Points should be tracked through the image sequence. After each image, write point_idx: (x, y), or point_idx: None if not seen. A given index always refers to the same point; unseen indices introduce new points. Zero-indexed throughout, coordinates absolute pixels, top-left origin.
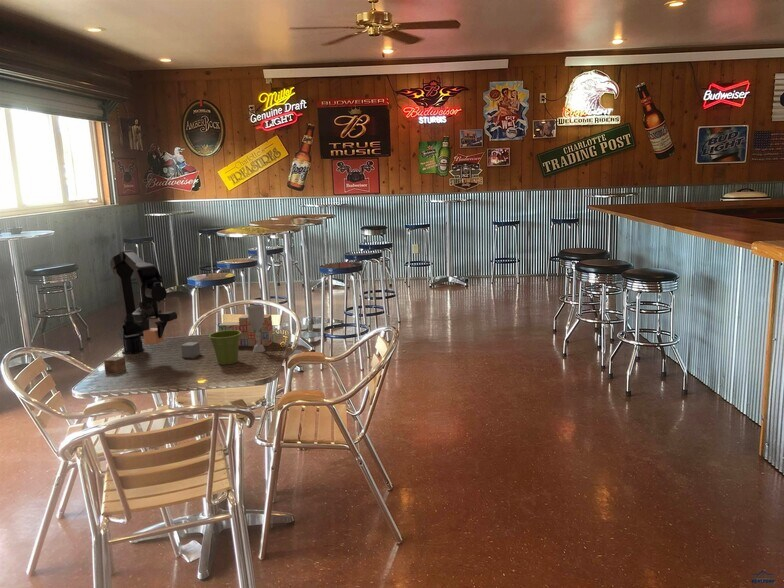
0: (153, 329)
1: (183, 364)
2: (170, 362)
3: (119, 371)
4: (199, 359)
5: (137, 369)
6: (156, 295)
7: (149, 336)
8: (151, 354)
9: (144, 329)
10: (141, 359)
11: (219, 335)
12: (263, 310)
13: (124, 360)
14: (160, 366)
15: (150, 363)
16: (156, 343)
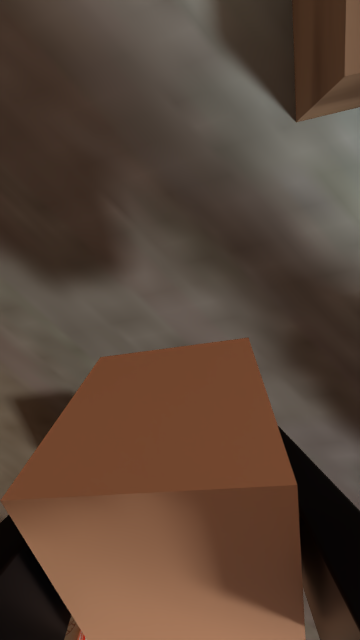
0: (161, 586)
1: (8, 326)
2: (111, 340)
3: (295, 11)
4: (13, 410)
5: (201, 151)
6: None
7: (160, 407)
8: (347, 439)
9: (325, 561)
10: (344, 353)
11: None
12: None
13: (326, 82)
14: (100, 260)
15: (218, 297)
16: (99, 363)
